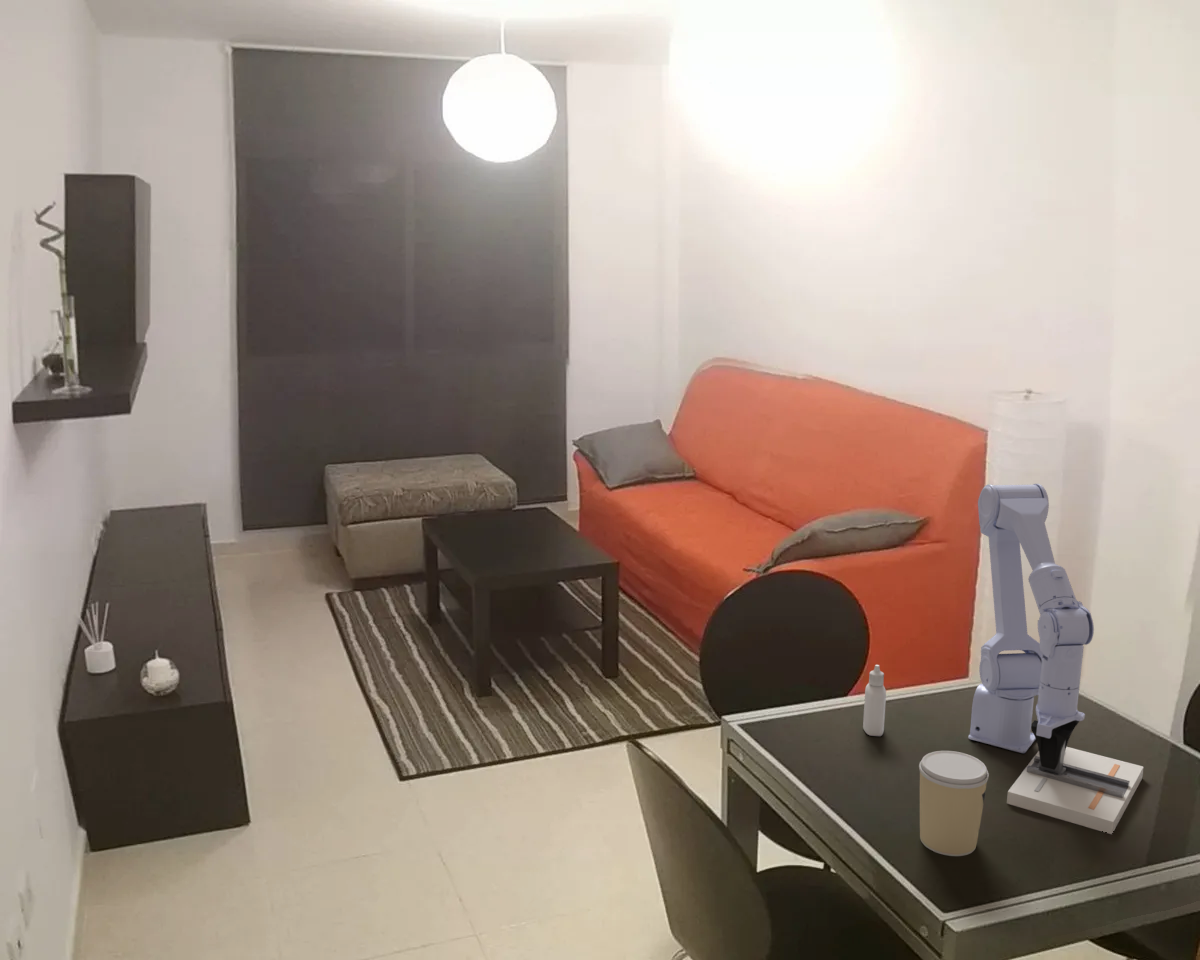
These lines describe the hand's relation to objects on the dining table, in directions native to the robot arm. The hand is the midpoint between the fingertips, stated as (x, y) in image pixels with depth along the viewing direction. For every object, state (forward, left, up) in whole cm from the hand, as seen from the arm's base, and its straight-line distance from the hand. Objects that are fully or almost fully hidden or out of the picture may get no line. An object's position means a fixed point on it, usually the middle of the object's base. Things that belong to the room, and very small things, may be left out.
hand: (1051, 763), depth 177 cm
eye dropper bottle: (-30, +1, -4) cm, 30 cm away
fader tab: (0, 0, -1) cm, 1 cm away
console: (+4, 0, -3) cm, 5 cm away
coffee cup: (-7, -27, -4) cm, 28 cm away
